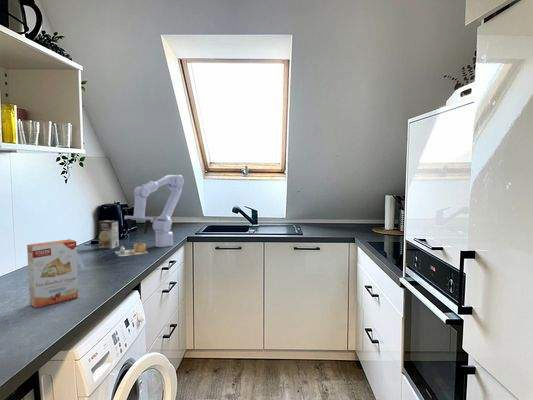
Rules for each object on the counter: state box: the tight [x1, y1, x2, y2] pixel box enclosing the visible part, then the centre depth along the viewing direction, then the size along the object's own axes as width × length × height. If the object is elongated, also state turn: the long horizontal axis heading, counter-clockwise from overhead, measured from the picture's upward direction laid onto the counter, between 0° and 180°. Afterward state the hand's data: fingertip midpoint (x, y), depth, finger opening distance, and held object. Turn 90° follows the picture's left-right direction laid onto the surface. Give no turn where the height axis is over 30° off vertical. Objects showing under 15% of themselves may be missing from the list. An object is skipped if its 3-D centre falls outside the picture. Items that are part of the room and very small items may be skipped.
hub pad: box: [114, 251, 130, 256], centre depth 199 cm, size 7×7×1 cm
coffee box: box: [98, 219, 120, 249], centre depth 214 cm, size 9×6×16 cm
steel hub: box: [119, 245, 126, 253], centre depth 198 cm, size 2×2×4 cm
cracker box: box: [26, 238, 79, 309], centre depth 129 cm, size 14×6×21 cm, turn 138°
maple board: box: [114, 248, 149, 257], centre depth 201 cm, size 15×13×1 cm
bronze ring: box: [133, 242, 147, 252], centre depth 203 cm, size 6×6×4 cm
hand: (137, 233), depth 202 cm, fingers open, 7 cm apart
